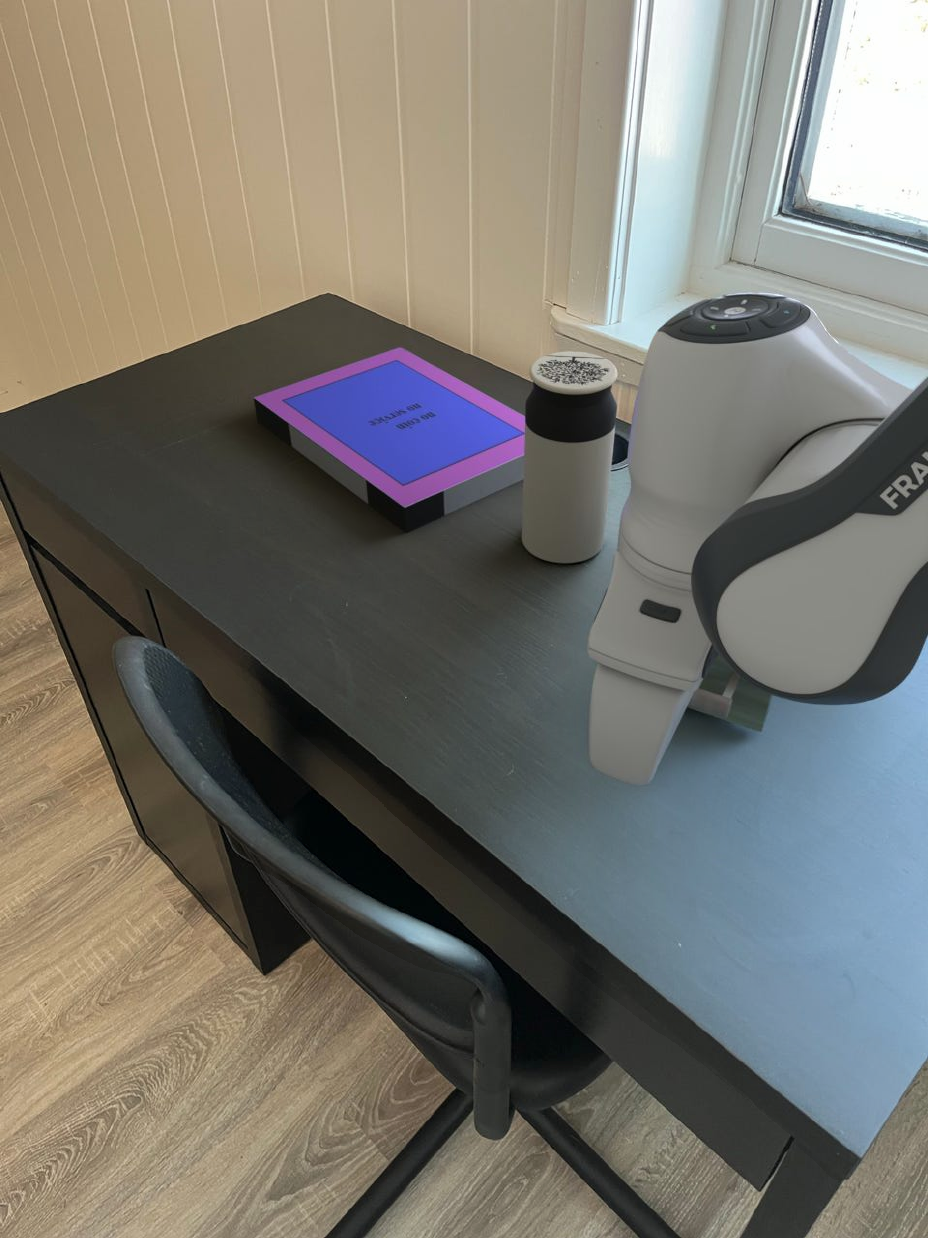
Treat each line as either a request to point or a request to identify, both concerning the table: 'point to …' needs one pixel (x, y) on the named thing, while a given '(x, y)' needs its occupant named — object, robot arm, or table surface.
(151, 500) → the table surface
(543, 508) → the travel mug
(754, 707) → the drawer
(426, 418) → the book
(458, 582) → the table surface
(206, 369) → the table surface
